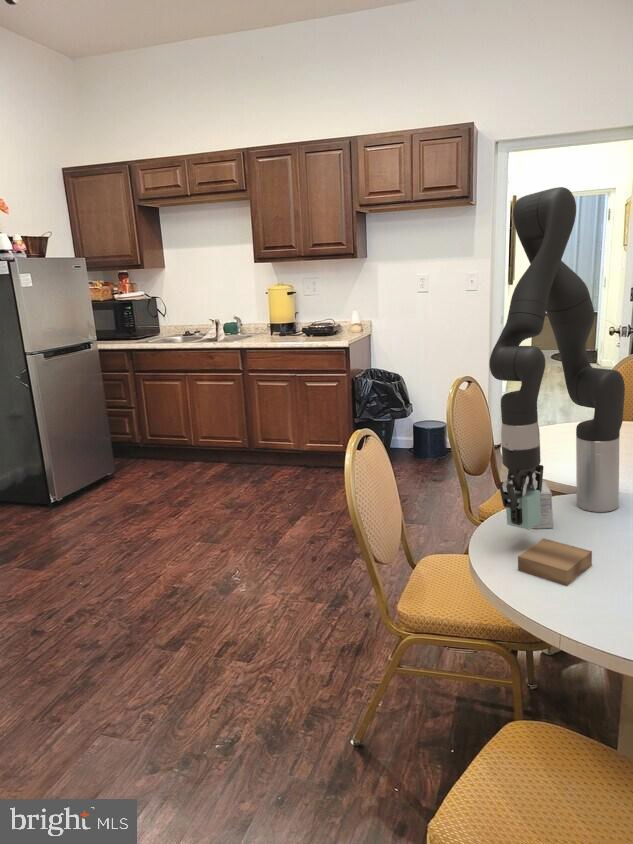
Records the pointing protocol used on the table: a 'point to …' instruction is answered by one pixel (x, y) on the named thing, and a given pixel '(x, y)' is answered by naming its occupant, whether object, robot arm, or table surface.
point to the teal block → (528, 510)
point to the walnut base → (555, 561)
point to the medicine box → (545, 507)
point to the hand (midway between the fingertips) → (523, 518)
